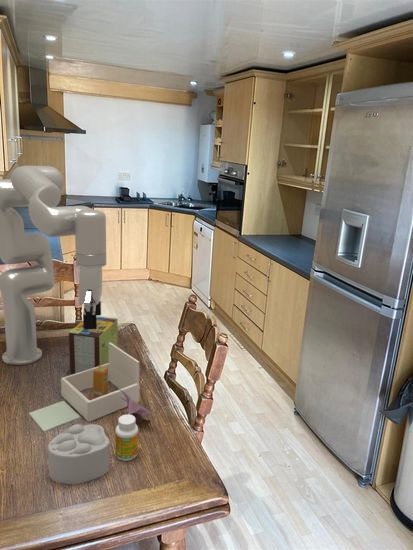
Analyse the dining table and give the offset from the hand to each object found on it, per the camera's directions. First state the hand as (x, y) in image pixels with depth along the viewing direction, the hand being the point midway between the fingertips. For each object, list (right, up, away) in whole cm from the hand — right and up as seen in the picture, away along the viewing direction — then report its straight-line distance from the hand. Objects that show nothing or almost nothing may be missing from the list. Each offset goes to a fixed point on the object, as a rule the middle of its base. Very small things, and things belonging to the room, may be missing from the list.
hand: (92, 321), depth 114 cm
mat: (-11, -26, +3) cm, 29 cm away
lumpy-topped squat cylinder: (+1, -32, -15) cm, 35 cm away
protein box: (-7, -19, +30) cm, 37 cm away
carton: (-1, -24, +13) cm, 27 cm away
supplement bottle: (+11, -31, -9) cm, 34 cm away
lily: (+11, -28, +3) cm, 30 cm away
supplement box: (-1, -24, +13) cm, 27 cm away
